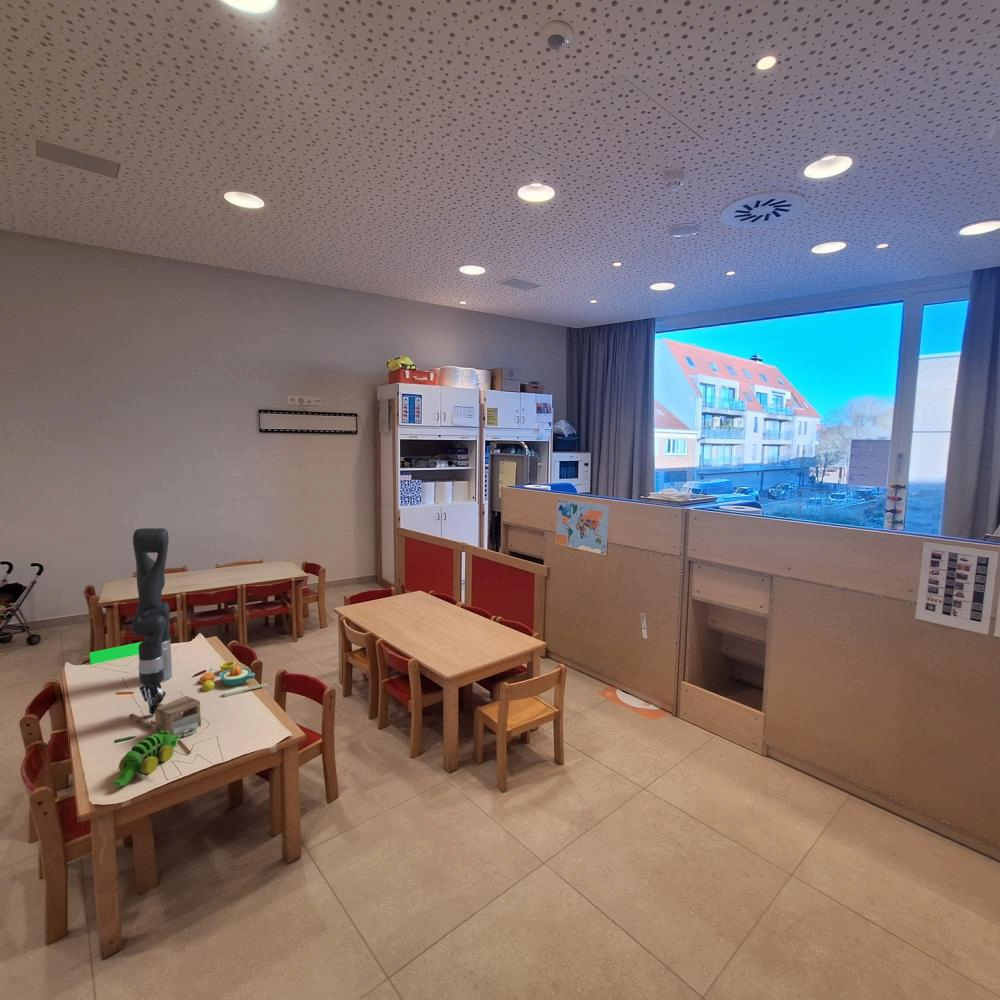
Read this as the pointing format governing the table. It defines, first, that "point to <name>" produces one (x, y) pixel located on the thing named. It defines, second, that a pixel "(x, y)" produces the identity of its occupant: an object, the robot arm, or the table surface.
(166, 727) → the wooden crate
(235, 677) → the toy juicer set
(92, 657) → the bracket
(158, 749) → the toy alligator
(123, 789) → the table surface
